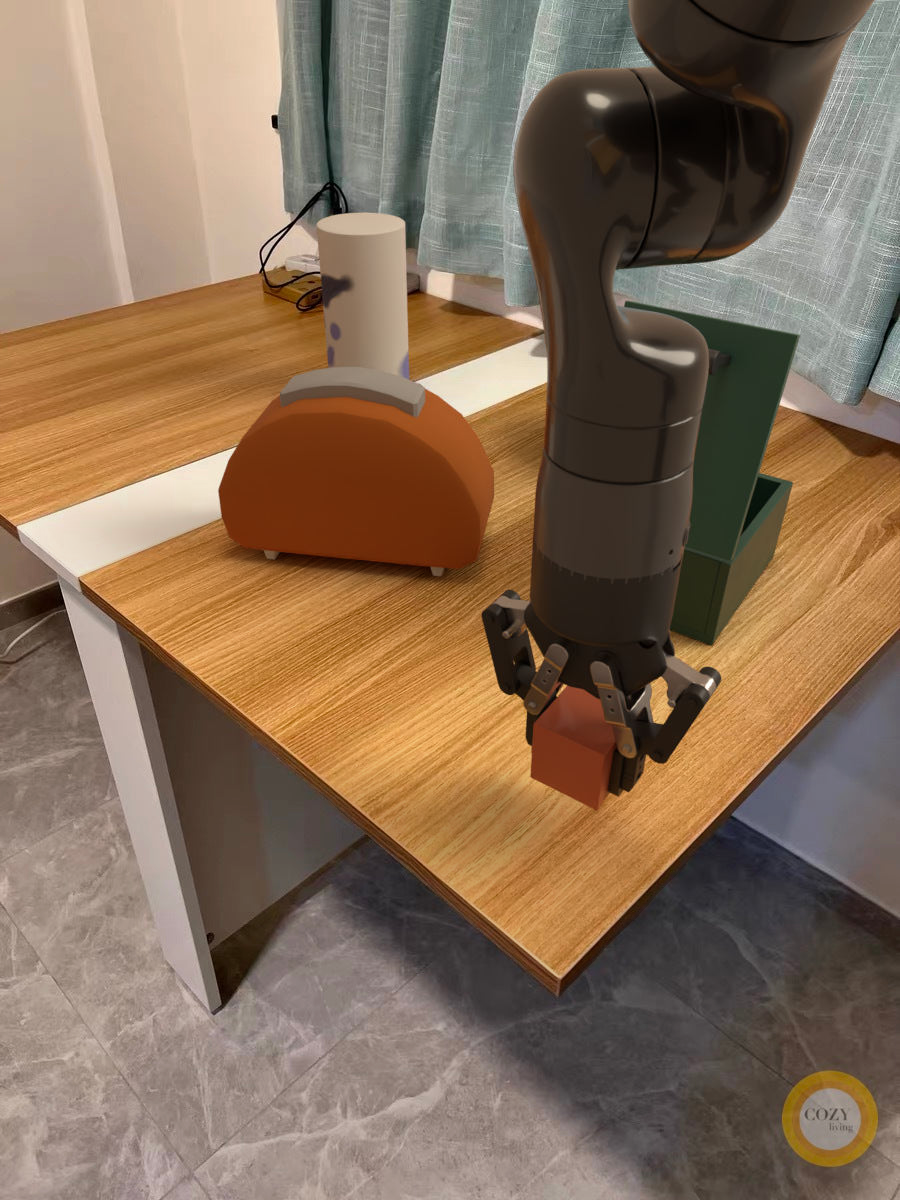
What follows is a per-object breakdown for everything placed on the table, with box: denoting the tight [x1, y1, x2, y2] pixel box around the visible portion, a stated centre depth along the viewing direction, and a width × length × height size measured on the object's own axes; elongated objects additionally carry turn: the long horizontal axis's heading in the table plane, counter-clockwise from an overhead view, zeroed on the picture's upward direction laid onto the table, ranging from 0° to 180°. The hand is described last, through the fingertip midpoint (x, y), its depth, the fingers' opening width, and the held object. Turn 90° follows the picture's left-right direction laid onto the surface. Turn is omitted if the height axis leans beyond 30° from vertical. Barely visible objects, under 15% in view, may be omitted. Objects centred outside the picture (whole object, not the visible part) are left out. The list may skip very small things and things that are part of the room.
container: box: [316, 212, 410, 380], centre depth 106 cm, size 10×10×20 cm
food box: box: [670, 472, 794, 646], centre depth 77 cm, size 16×13×8 cm
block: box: [530, 685, 617, 811], centre depth 53 cm, size 5×5×5 cm
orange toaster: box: [217, 367, 495, 577], centre depth 78 cm, size 23×9×17 cm, turn 80°
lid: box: [623, 300, 801, 561], centre depth 64 cm, size 16×13×5 cm
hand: (582, 766), depth 54 cm, fingers closed on block, 4 cm apart
